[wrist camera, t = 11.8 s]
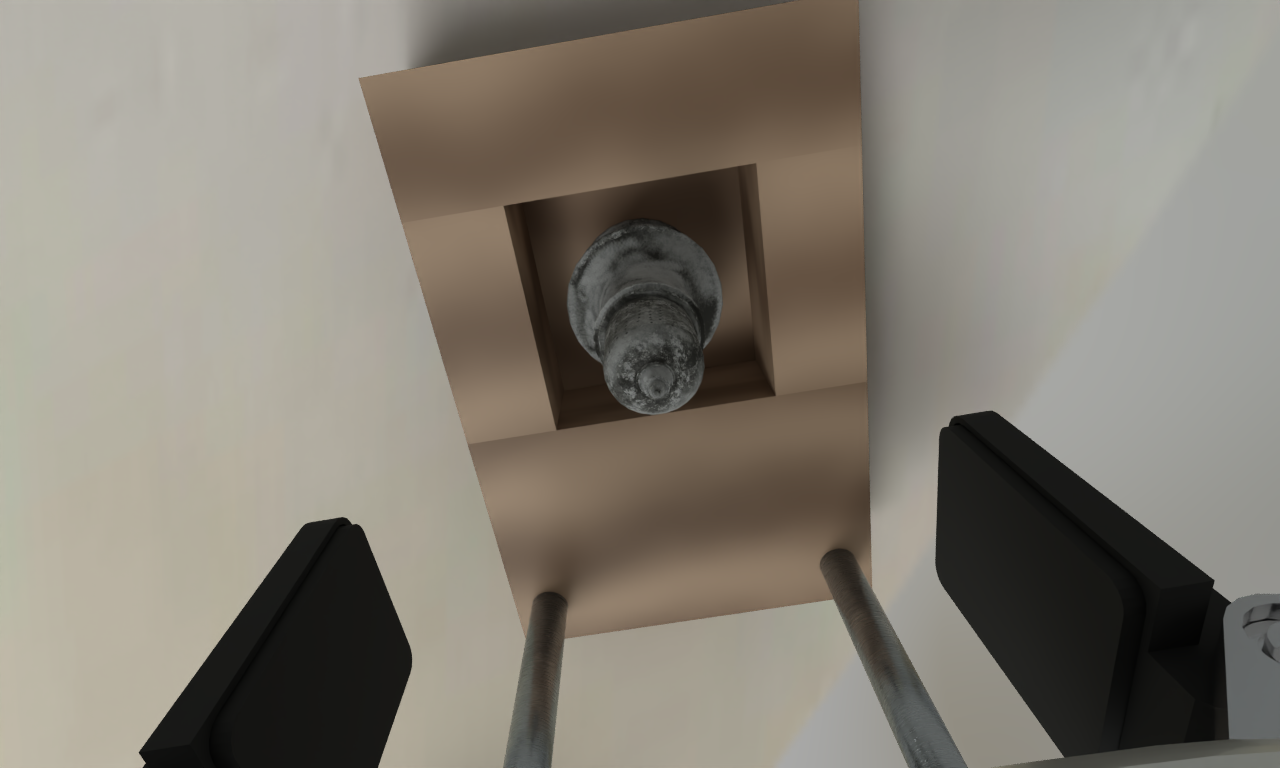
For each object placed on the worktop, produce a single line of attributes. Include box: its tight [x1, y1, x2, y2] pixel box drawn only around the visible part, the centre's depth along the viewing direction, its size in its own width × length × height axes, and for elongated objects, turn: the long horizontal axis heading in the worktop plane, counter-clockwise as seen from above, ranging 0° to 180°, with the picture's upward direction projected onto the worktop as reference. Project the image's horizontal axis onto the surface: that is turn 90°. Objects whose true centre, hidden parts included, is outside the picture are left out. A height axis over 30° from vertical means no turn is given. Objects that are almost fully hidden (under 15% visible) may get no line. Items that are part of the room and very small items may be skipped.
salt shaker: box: [567, 218, 723, 415], centre depth 22 cm, size 6×6×12 cm
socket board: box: [359, 0, 872, 638], centre depth 27 cm, size 24×16×5 cm, turn 9°
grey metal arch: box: [503, 548, 968, 768], centre depth 23 cm, size 4×16×13 cm, turn 99°
